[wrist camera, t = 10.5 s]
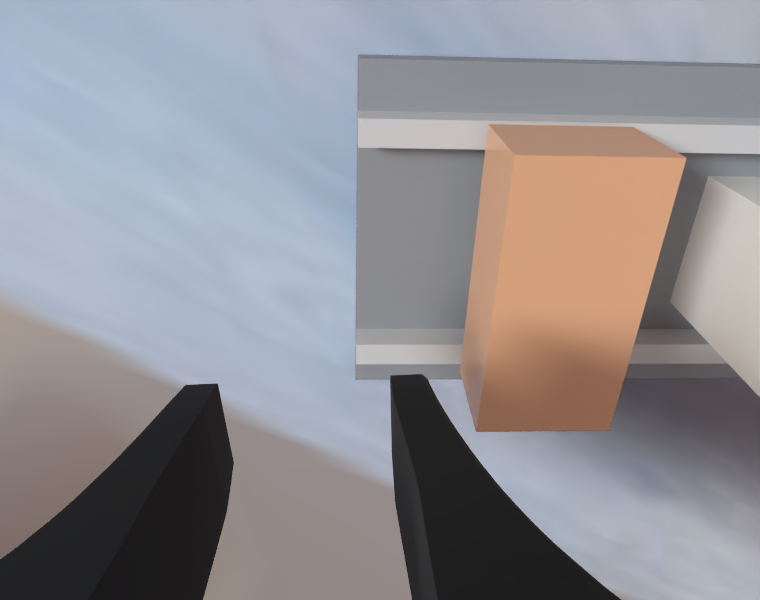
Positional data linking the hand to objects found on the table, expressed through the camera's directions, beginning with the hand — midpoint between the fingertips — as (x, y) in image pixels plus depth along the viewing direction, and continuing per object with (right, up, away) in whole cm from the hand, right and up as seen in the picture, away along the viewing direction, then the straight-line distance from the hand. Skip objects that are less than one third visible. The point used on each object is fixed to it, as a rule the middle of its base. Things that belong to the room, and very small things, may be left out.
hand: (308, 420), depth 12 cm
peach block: (+6, +4, +7) cm, 10 cm away
